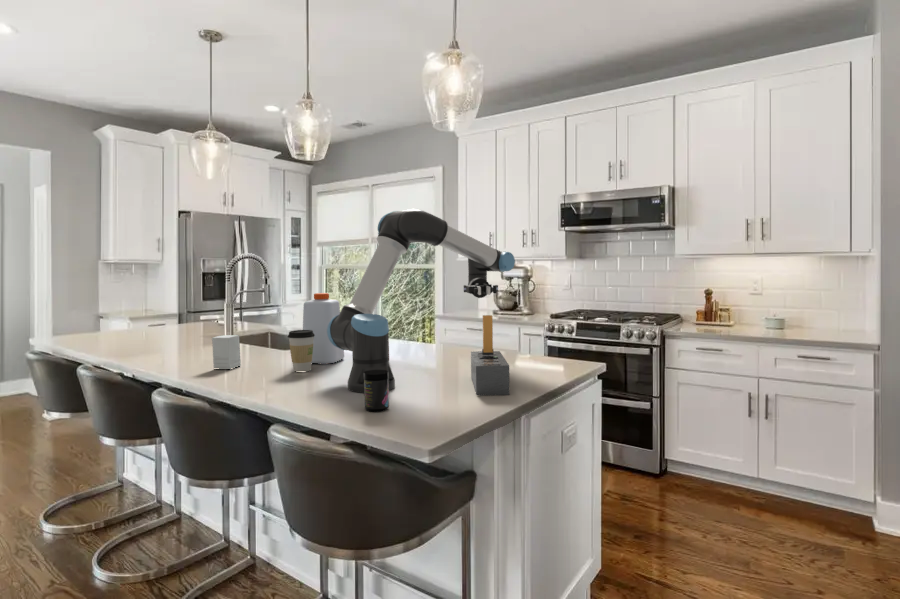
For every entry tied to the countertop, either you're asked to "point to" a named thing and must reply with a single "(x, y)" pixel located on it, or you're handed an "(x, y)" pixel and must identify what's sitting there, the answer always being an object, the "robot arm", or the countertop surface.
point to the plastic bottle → (322, 327)
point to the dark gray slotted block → (489, 373)
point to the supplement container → (376, 390)
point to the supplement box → (226, 351)
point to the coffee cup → (301, 349)
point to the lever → (487, 335)
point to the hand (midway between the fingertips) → (484, 291)
